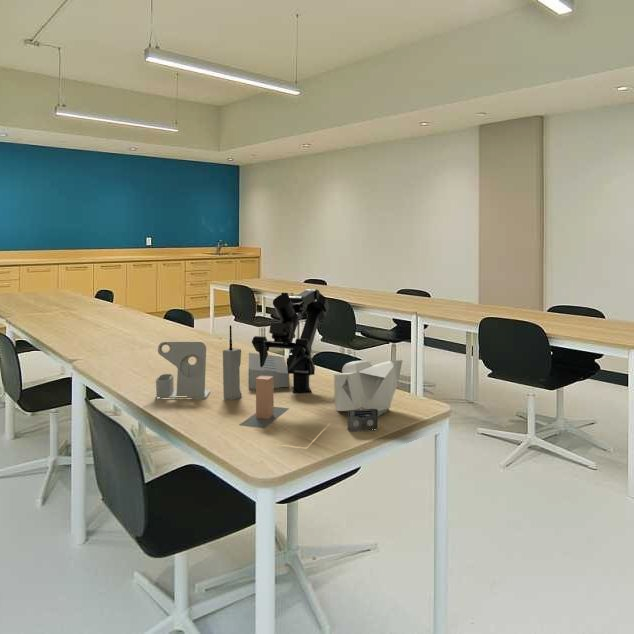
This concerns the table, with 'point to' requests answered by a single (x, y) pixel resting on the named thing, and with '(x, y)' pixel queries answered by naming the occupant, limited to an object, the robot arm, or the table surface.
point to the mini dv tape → (362, 419)
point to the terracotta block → (264, 397)
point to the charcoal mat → (263, 422)
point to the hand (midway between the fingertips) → (274, 367)
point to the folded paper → (366, 385)
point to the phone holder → (184, 371)
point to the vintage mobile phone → (231, 372)
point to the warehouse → (268, 370)
